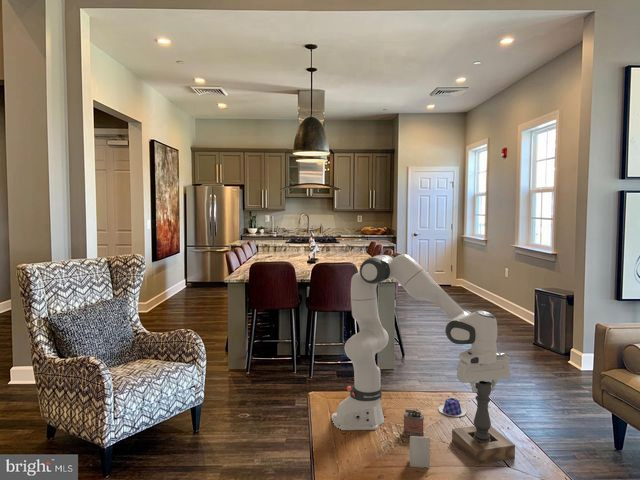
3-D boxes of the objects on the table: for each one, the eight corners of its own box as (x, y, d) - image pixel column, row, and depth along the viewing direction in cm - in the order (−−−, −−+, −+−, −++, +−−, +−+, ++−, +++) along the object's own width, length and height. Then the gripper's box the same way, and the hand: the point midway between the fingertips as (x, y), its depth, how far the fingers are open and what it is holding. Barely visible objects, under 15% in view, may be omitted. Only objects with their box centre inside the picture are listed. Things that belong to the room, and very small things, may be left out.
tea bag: (429, 467, 155) (430, 440, 154) (410, 466, 156) (410, 439, 155) (428, 461, 159) (429, 435, 158) (409, 460, 160) (409, 433, 159)
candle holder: (491, 452, 163) (493, 386, 161) (474, 450, 164) (475, 385, 162) (489, 443, 169) (490, 379, 167) (472, 441, 170) (473, 378, 168)
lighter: (424, 433, 179) (424, 409, 178) (423, 437, 175) (423, 412, 175) (404, 430, 181) (404, 406, 180) (402, 434, 178) (402, 410, 177)
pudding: (446, 403, 206) (446, 392, 206) (471, 411, 198) (471, 400, 197) (433, 412, 197) (433, 400, 197) (458, 421, 189) (458, 409, 189)
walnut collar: (475, 464, 157) (475, 450, 156) (452, 441, 172) (452, 428, 172) (514, 458, 160) (515, 445, 160) (488, 436, 176) (488, 423, 175)
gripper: (503, 350, 169) (502, 385, 170) (454, 354, 164) (454, 390, 165) (514, 355, 163) (513, 392, 164) (464, 360, 158) (463, 397, 159)
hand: (483, 391), depth 165 cm, fingers closed on candle holder, 5 cm apart
